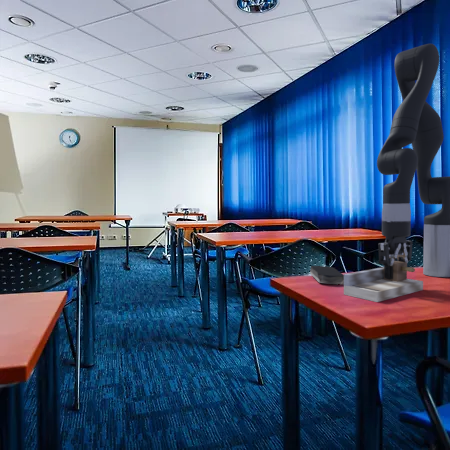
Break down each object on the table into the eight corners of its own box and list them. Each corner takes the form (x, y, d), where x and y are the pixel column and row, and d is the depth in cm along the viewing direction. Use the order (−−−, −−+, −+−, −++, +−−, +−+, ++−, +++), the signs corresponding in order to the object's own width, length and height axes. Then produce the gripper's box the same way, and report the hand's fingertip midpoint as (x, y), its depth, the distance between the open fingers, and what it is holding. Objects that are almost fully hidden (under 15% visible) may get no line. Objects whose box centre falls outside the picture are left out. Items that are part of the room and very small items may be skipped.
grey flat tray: (389, 283, 112) (389, 266, 111) (422, 289, 103) (423, 270, 103) (343, 294, 99) (343, 274, 99) (377, 302, 91) (377, 280, 91)
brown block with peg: (393, 277, 109) (393, 260, 109) (419, 281, 103) (419, 263, 102) (383, 279, 106) (384, 262, 106) (409, 283, 100) (409, 265, 100)
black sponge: (309, 276, 127) (309, 265, 127) (333, 275, 127) (333, 265, 127) (318, 286, 111) (318, 274, 111) (346, 286, 111) (346, 274, 110)
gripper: (397, 218, 112) (396, 272, 113) (369, 220, 104) (368, 278, 105) (422, 219, 106) (421, 276, 107) (394, 220, 98) (393, 282, 99)
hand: (395, 277), depth 106 cm, fingers open, 6 cm apart
